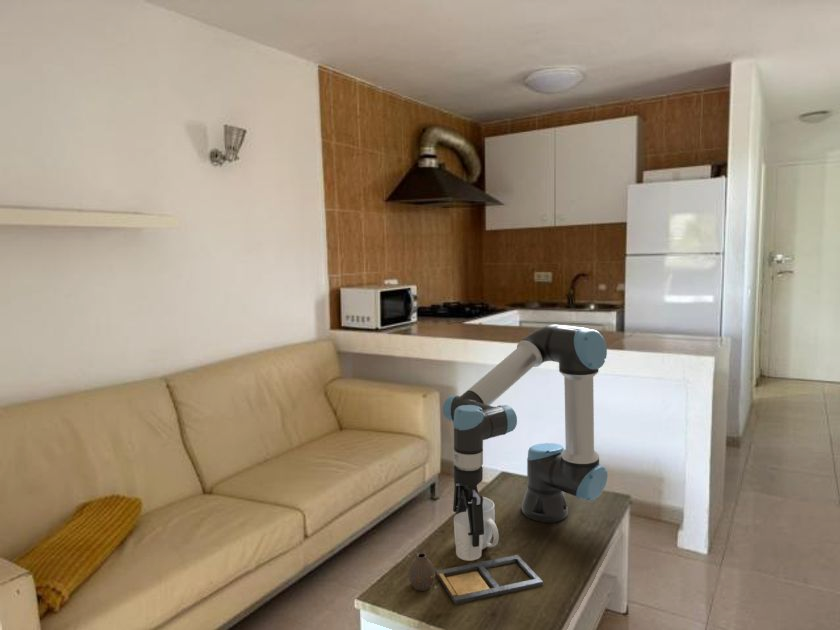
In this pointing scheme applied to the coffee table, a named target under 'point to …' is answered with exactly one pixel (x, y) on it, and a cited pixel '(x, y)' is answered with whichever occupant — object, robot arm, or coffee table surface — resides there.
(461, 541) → the white cup
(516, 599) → the coffee table surface
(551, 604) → the coffee table surface
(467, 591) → the grey double frame
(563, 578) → the coffee table surface
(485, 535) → the mug
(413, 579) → the vase
